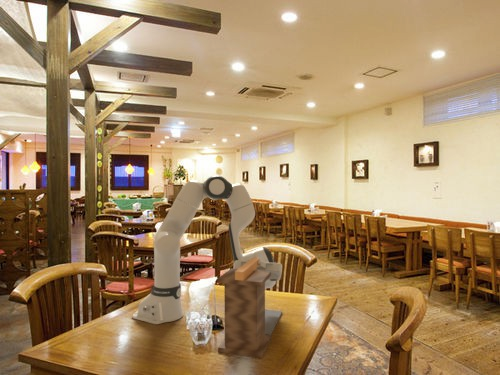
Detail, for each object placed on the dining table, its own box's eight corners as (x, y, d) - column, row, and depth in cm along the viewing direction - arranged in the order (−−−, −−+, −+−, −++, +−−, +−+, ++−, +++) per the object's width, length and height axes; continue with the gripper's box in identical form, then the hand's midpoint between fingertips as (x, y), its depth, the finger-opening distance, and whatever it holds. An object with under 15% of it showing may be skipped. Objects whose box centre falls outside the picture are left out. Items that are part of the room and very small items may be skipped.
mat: (235, 332, 131) (235, 329, 131) (252, 310, 154) (252, 307, 154) (269, 336, 127) (269, 334, 127) (282, 313, 150) (282, 311, 150)
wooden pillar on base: (217, 351, 116) (217, 278, 116) (231, 334, 130) (231, 268, 130) (261, 358, 112) (261, 282, 111) (271, 339, 125) (270, 271, 125)
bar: (235, 279, 114) (235, 271, 114) (252, 264, 135) (252, 257, 135) (243, 280, 113) (243, 271, 113) (259, 265, 134) (259, 257, 134)
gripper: (239, 262, 147) (230, 253, 136) (285, 266, 141) (279, 255, 130) (237, 277, 144) (227, 268, 133) (283, 280, 138) (277, 271, 127)
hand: (253, 262), depth 131 cm, fingers closed on bar, 3 cm apart
